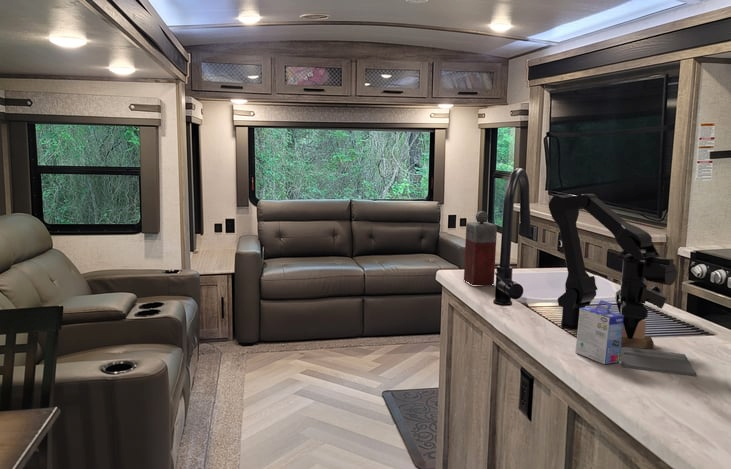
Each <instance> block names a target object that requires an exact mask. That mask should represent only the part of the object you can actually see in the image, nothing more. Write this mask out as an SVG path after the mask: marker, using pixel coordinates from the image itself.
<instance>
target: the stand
mask: <svg viewBox="0 0 731 469" xmlns="http://www.w3.org/2000/svg"><path fill="white" fill-rule="evenodd" d="M621 347H629V348H638V349H648V348H649V349H648V350H653V349H654V340H653V338H652V337H651V336H650V335H645V337H644V339H636V338H632V339H628V338H627V337H622V339H621Z"/></svg>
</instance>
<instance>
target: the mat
mask: <svg viewBox="0 0 731 469" xmlns="http://www.w3.org/2000/svg"><path fill="white" fill-rule="evenodd" d="M620 361H621V365H622V367H623V368H629V369H635V370H636V369H637V370H643V371H645V370H646V371H652V372H653V371H654V372H659V373H668V374H677V375H685V376H686V375H687V376H693V377H694V376H695V377H697V375H698V374H697V371H696V370H695V369H694V366H693V365H692V364H691V362H690V360H689V359H688V357H687V355H686V354H685V353H678V352H677V353H676V352H670V351H663V350H662V351H661V350H653V349H645V348H636V347H627V346H621V350H620Z"/></svg>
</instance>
